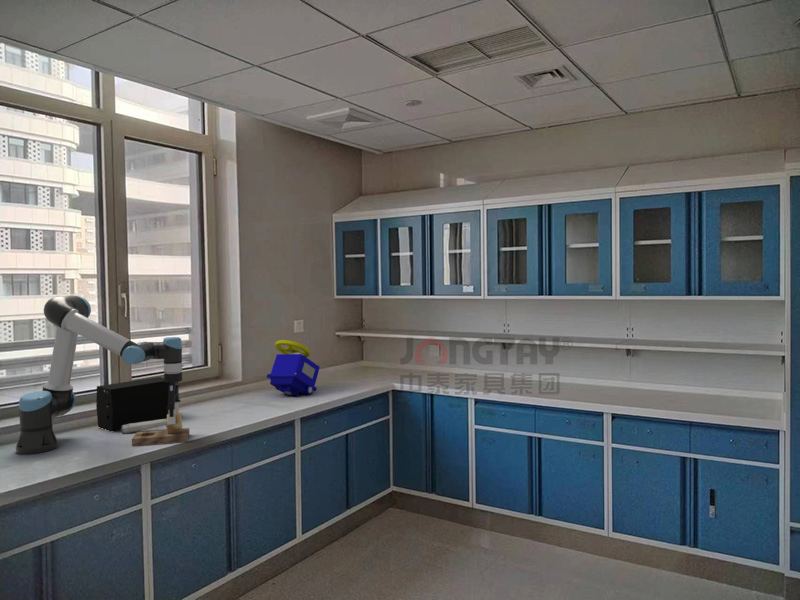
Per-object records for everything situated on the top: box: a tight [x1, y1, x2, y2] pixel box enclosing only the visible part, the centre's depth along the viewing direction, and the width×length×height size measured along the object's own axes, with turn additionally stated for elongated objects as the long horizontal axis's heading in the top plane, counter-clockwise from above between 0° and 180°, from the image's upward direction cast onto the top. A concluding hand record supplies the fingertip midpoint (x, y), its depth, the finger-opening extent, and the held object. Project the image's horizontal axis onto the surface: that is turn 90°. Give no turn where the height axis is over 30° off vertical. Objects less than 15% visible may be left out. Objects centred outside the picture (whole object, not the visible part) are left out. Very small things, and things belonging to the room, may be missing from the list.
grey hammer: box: [120, 419, 167, 434], centre depth 276 cm, size 5×7×25 cm
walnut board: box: [131, 427, 191, 447], centre depth 259 cm, size 22×12×3 cm, turn 104°
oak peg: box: [166, 412, 183, 434], centre depth 260 cm, size 6×6×11 cm
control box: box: [266, 339, 321, 397], centre depth 361 cm, size 26×27×30 cm
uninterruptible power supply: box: [95, 376, 170, 432], centre depth 291 cm, size 16×34×20 cm, turn 141°
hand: (173, 420), depth 260 cm, fingers open, 13 cm apart
